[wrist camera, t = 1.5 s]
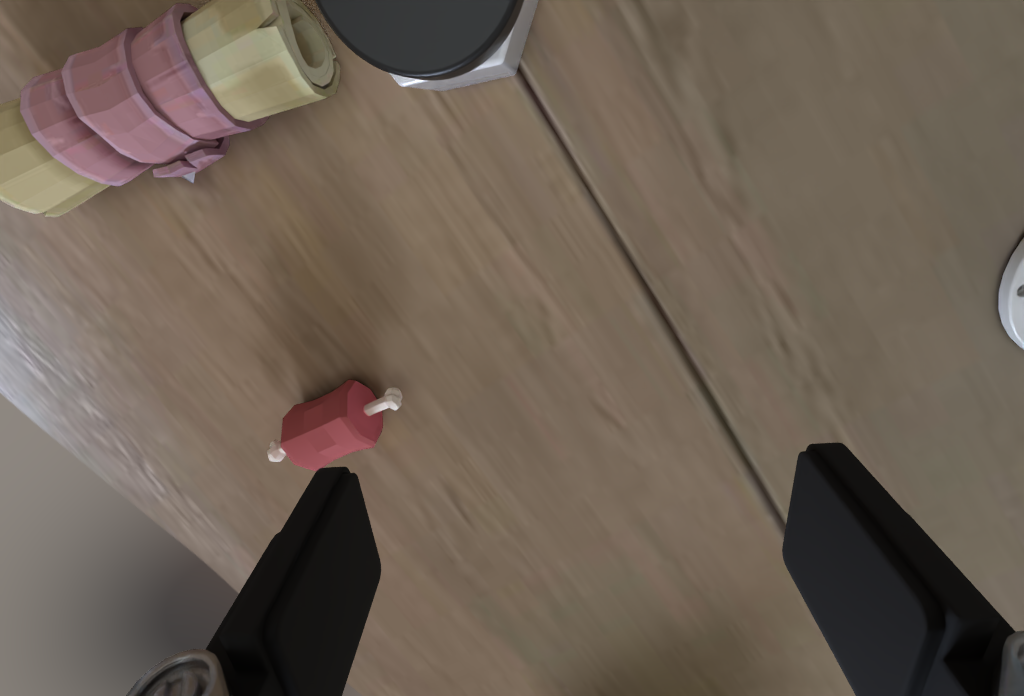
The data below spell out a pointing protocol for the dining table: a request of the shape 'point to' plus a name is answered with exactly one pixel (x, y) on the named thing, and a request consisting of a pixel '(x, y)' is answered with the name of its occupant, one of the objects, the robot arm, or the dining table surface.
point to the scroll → (160, 99)
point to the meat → (333, 425)
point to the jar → (434, 38)
